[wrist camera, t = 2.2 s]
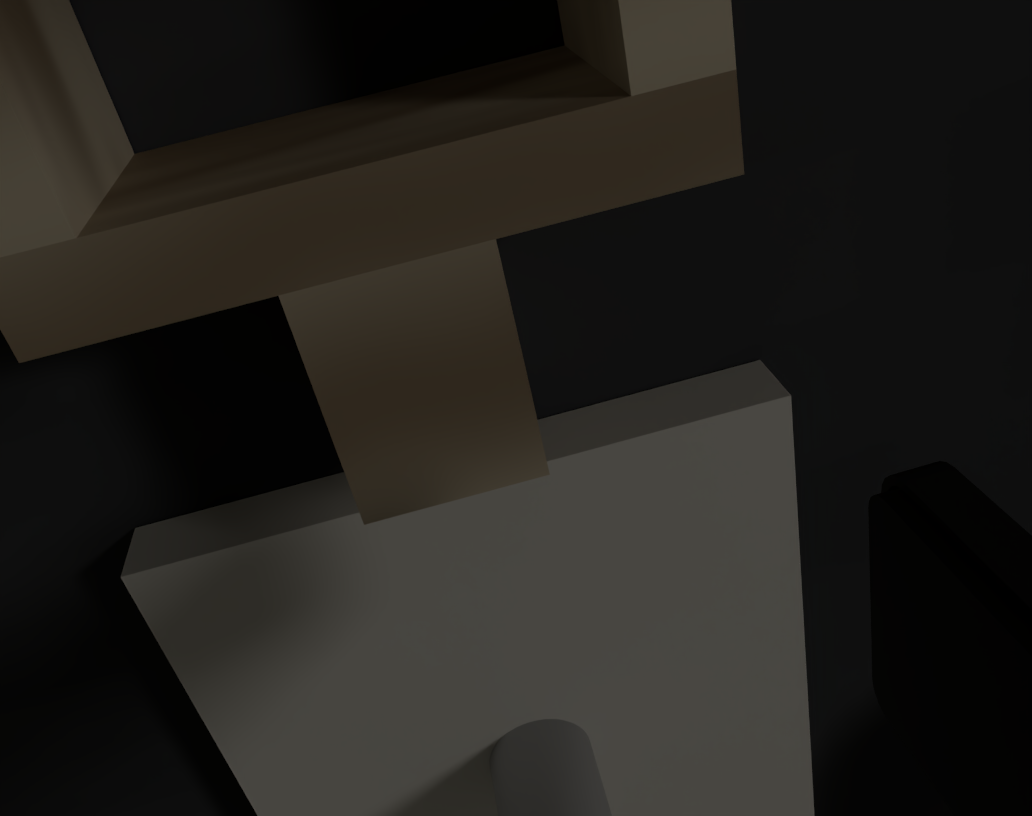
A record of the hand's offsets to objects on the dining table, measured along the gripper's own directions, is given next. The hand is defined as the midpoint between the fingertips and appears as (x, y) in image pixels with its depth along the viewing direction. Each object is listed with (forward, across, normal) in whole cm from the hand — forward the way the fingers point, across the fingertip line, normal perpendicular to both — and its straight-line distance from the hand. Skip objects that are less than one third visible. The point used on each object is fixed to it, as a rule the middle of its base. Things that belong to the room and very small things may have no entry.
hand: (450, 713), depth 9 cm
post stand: (+10, 0, +10) cm, 14 cm away
